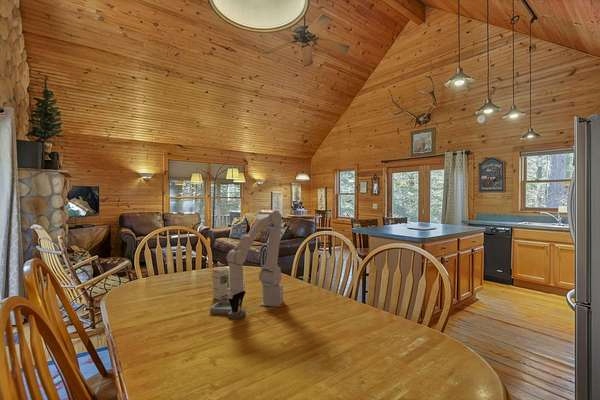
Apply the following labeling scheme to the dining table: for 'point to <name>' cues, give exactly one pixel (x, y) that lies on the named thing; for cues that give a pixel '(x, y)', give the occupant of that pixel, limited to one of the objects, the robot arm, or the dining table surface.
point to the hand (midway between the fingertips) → (236, 310)
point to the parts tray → (221, 308)
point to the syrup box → (220, 283)
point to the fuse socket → (236, 314)
